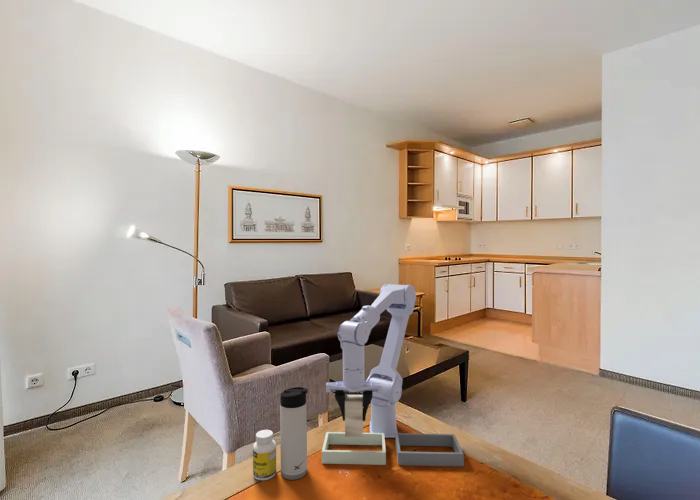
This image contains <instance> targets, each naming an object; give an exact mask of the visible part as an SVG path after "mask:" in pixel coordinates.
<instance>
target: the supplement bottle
mask: <svg viewBox="0 0 700 500" xmlns="http://www.w3.org/2000/svg"><path fill="white" fill-rule="evenodd" d="M276 474H277V442H276V441H275V440H274V432H273V431H272V430H270V429H262V430H259V431H257V432H256V433H255V442H254V443H253V446H252V476H253V478H254V479H256V480H257V481H268V480H270V479H272V478H274V477H275V475H276Z"/></svg>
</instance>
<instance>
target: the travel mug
mask: <svg viewBox="0 0 700 500" xmlns="http://www.w3.org/2000/svg"><path fill="white" fill-rule="evenodd" d="M308 391H309V390H308V388H305V387H303V386H295V387H289V388H287V389H285V390H283V391H282V392H280V396H279V397H280V403H279V406H280V407H279V413H280V414H279V416H280V417H279V418H280V423H279V424H280V425H279V426H280V427H279V428H280V429H279V431H280V432H279V433H280V435H279V436H280V439H279V440H280V476H281V477H282V478H283V479H285V480H290V481H294V480H299V479H302V478H303V477H305V476H306V474H307V472H308V436H307V435H308V427H307V424H308V423H307V420H308V419H307V418H308V417H307V394H308Z"/></svg>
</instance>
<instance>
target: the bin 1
mask: <svg viewBox="0 0 700 500" xmlns="http://www.w3.org/2000/svg"><path fill="white" fill-rule="evenodd" d="M329 445H342V446H343V445H346V446H347V445H352V446H353V445H354V446H355V445H357V446H358V445H359V446H381V449H382V450H349V449H347V450H345V449H344V450H340V449H329ZM386 449H387V448H386V440H385V436H384V433H370V432H363V437H345V431H343V432H342V431H341V432H340V431H326V432H325V436H324V440H323V445H322V448H321V464H322V465H323V464H325V465H326V464H327V465H329V464H332V465H334V464H335V465H336V464H337V465H374V466H375V465H376V466H387V451H386Z"/></svg>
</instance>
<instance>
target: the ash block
mask: <svg viewBox="0 0 700 500" xmlns="http://www.w3.org/2000/svg"><path fill="white" fill-rule="evenodd" d="M344 432H345V437H363V433H364V421H363V394H345V421H344Z"/></svg>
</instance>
